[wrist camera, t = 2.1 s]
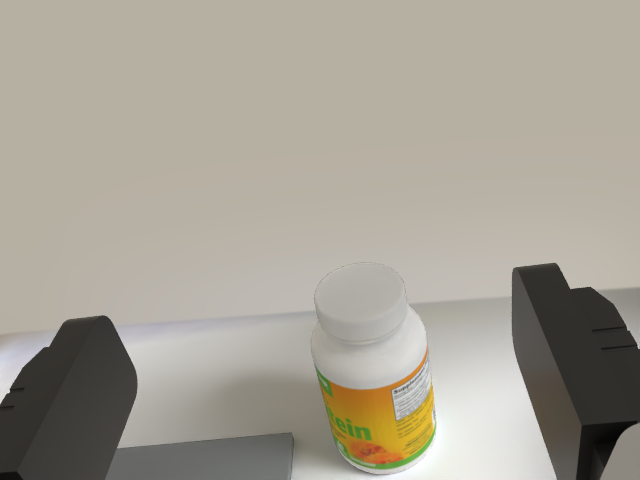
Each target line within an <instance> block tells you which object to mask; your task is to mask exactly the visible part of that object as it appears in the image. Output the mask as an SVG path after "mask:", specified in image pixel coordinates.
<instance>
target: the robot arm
mask: <svg viewBox="0 0 640 480" xmlns="http://www.w3.org/2000/svg"><path fill="white" fill-rule="evenodd" d="M512 336H513V344H514V349H515V354H516V358H517V362H518V365H519V368H520V371H521V373H522V376H523V379H524V382H525V385H526V388H527V391H528V394H529V397H530V400H531V403H532V406H533V409H534V412H535V415H536V418H537V421H538V424H539V427H540V430H541V433H542V436H543V439H544V442H545V444H546V447H547V450H548V453H549V456H550V459H551V462H552V465H553V468H554V471H555V474H556V477H557V480H640V349H638V347H637V343H636V341H635V340H634V338H633V336H632V335H631V333H630V331H627V326H626V324H625V323H624V321H623V319H622V318H621V316H620V314H619V313H618V311H617V309H616V307H615V306H614V304H613V303H611V302H610V301H609V300H607V299H606V298H605V297H603V296H602V295H601V294H599V293H598V292H597V291H595V290H594V289H593V288H591V287H585V288H576V289H570V288H569V286H568V284H567V282H566V280H565V278H564V276H563V274H562V272H561V271H560V268H559V266H558V265H557V264H556V263H550V264H541V265H533V266H524V267H516V268H514V269H513V272H512ZM136 394H137V375H136V371H135V368H134V365H133V363H132V361H131V359H130V357H129V355H128V353H127V351H126V349H125V347H124V345H123V343H122V341H121V339H120V337H119V335H118V333H117V331H116V329H115V327H114V325H113V323H112V322H111V320H110V319H109V318H108V317H107V316H94V317H86V318H77V319H70V320H67V321H65V322H64V323H63V324H62V326H61V328H60V329H59V331H58V333H57V334H56V336H55V338H54V339H53V341H52V343H51V345H50V346H49V347H44V348H43V349H42V350H41V351H40V352H39V353H38V354H37V355H36V356H35V357H34V358H32V359H31V360H30V361H29V362H28V363H27V364H26V365H25V366H24V367H23V368H22V370H21V372H20V373H19V375H18V376H17V378H16V380H15V381H14V383H13V385H12V386H11V388H10V393H8V394H6V396H5V398H4V399H3V401H2V403H1V404H0V480H105V478H106V475H107V473H108V470H109V467H110V465H111V462H112V460H113V457H114V454H115V452H116V449H117V446H118V444H119V441H120V438H121V436H122V433H123V430H124V428H125V425H126V422H127V420H128V417H129V414H130V412H131V409H132V406H133V404H134V401H135V398H136Z"/></svg>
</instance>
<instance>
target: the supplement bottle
mask: <svg viewBox="0 0 640 480" xmlns="http://www.w3.org/2000/svg"><path fill="white" fill-rule="evenodd" d="M314 300H315V306H316V311H317V316H318V319H319V321H318V323H317V325H316V326H315V329H314V331H313V334H312V338H311V351H312V356H313V360H314V364H315V368H316V372H317V375H318V379H319V383H320V386H321V390H322V394H323V398H324V402H325V405H326V409H327V413H328V417H329V421H330V425H331V429H332V433H333V437H334V440H335V443H336V446H337V448H338V450H339V451H340V453H341V454H342V456H343V457H344V458H345V459H346V460H347V461H348V462H349V463H350V464H352V465H353V466H355V467H356V468H358V469H360V470H363V471H366V472H369V473H374V474H392V473H397V472H401V471H404V470H406V469H409V468H410V467H412V466H414V465H415V464H417V463H418V462H419V461H420V460H422V459H423V458H424V457H425V456H426V454H427V453H428V452H429V450H430V449H431V447H432V445H433V442H434V439H435V435H436V414H435V406H434V397H433V387H432V377H431V370H430V361H429V351H428V342H427V336H426V331H425V327H424V324H423V322H422V320H421V318H420V317H419V315H418V314H417V313H416V312H415V311H414V310H413V309H412V308H411V307H410V306H409V305H408V302H407V298H406V291H405V286H404V282H403V280H402V278H401V277H400V275H399V274H398V273H397V272H395V271H394V270H393V269H391V268H389V267H387V266H385V265H381V264H377V263H355V264H351V265H347V266H344V267H341V268H338V269H336V270H335V271H333V272H331V273H330V274H328V275H327V276H326V277H325V278H324V279H322V281H321V282H320V283H319V285H318V286H317V288H316V291H315V297H314Z"/></svg>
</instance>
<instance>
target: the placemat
mask: <svg viewBox="0 0 640 480" xmlns="http://www.w3.org/2000/svg"><path fill="white" fill-rule="evenodd" d="M293 442H294V439H293V436H292V433H281V434H270V435H259V436H248V437H238V438H227V439H216V440H205V441H194V442H184V443H173V444H162V445H151V446H140V447H130V448H119V449H116V452H115V454H114V457H113V460H112V462H111V465H110V467H109V470H108V473H107V475H106V478H105V480H291V467H292V455H293Z"/></svg>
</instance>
